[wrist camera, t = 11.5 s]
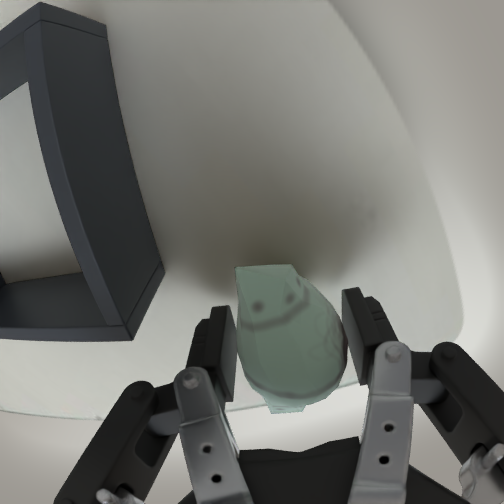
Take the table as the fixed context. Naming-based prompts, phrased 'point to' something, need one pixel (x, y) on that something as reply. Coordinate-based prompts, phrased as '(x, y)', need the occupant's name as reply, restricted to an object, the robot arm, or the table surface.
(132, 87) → the table surface
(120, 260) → the bin
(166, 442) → the robot arm
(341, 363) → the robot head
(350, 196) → the table surface
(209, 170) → the table surface
